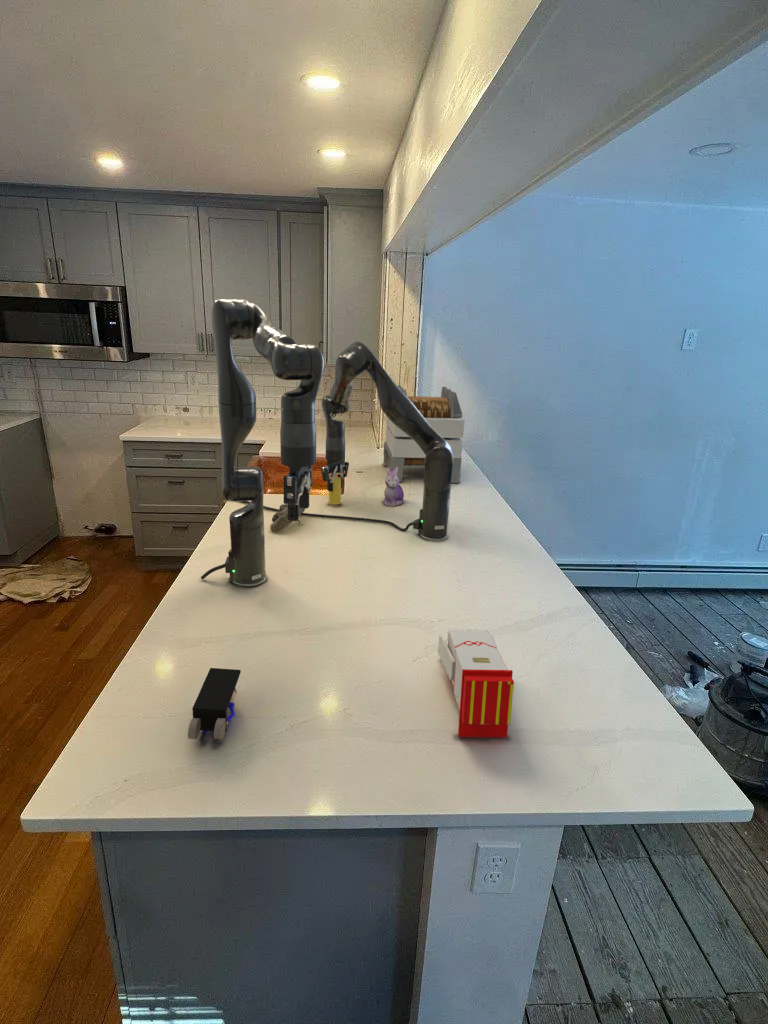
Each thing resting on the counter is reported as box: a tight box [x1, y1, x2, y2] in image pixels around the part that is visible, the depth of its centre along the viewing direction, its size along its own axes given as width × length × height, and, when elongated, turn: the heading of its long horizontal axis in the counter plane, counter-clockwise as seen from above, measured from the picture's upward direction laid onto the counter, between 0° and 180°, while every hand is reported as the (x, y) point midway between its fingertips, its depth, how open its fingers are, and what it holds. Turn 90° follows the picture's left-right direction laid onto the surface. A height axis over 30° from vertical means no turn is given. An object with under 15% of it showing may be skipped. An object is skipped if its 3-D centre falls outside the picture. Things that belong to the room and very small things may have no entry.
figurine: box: [383, 466, 405, 507], centre depth 229 cm, size 9×10×15 cm
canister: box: [328, 476, 342, 505], centre depth 224 cm, size 5×5×10 cm
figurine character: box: [187, 667, 241, 744], centre depth 105 cm, size 7×8×15 cm
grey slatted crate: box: [383, 384, 465, 484], centre depth 268 cm, size 34×33×41 cm
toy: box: [437, 628, 515, 738], centre depth 117 cm, size 12×13×30 cm
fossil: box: [270, 495, 306, 533], centre depth 203 cm, size 22×10×15 cm
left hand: (299, 513), depth 125 cm, fingers open, 8 cm apart
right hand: (335, 489), depth 224 cm, fingers closed on canister, 5 cm apart
